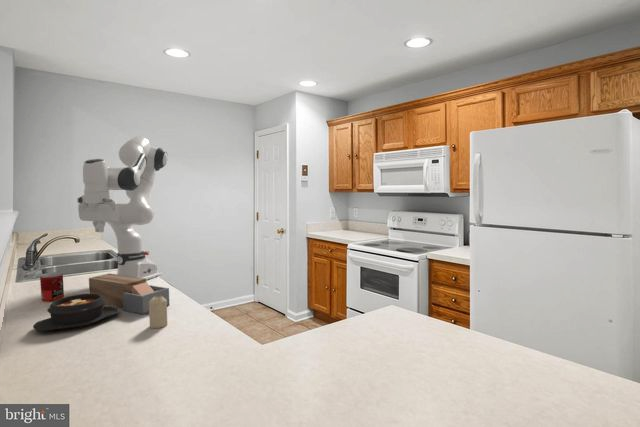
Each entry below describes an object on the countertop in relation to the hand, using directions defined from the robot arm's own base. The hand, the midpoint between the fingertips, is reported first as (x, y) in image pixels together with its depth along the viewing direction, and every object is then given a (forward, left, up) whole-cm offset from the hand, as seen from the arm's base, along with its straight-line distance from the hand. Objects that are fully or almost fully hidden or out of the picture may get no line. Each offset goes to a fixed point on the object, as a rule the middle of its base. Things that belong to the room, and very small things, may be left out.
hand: (99, 232), depth 152 cm
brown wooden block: (-1, +9, -29) cm, 30 cm away
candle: (+10, +45, -29) cm, 55 cm away
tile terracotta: (0, +23, -23) cm, 33 cm away
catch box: (-1, +26, -29) cm, 39 cm away
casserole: (+20, +17, -29) cm, 40 cm away
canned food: (+8, -21, -29) cm, 37 cm away
